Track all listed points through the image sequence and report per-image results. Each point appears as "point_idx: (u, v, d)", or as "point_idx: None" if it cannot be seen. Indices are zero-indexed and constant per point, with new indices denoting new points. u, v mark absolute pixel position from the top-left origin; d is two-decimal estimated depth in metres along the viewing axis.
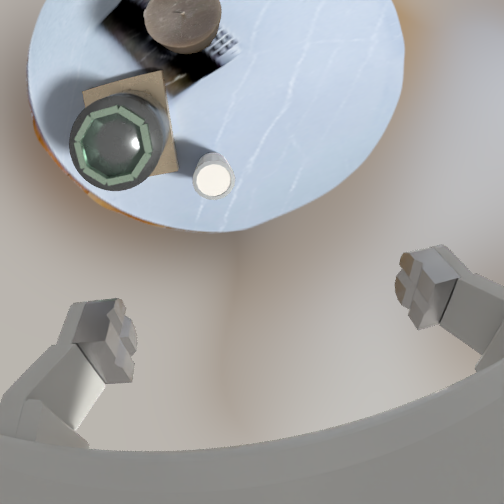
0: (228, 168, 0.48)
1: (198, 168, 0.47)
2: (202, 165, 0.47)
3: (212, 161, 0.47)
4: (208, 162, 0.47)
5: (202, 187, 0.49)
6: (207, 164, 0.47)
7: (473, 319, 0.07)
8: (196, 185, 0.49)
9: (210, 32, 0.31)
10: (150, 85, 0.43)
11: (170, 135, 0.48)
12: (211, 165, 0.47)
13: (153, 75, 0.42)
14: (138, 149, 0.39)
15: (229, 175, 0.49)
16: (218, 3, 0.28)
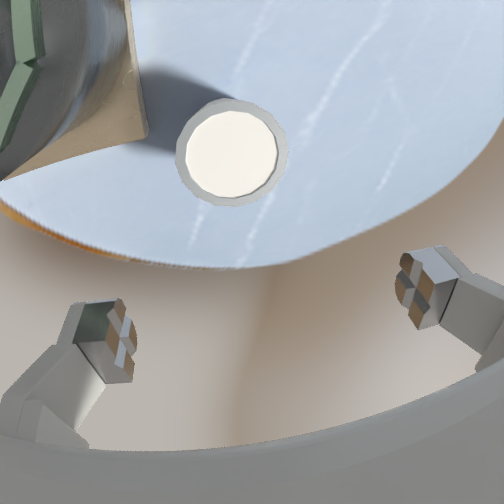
0: (273, 124, 0.17)
1: (191, 122, 0.16)
2: (202, 114, 0.16)
3: (230, 103, 0.16)
4: (219, 105, 0.16)
5: (201, 174, 0.18)
6: (216, 111, 0.16)
7: (473, 319, 0.07)
8: (185, 169, 0.18)
9: None
10: None
11: (128, 55, 0.17)
12: (227, 114, 0.17)
13: None
14: (9, 63, 0.08)
15: (274, 143, 0.18)
16: None
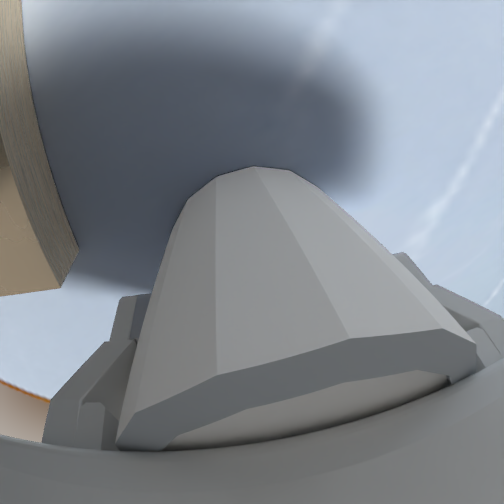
0: (464, 370, 0.04)
1: (153, 419, 0.03)
2: (202, 400, 0.03)
3: (355, 352, 0.03)
4: (294, 368, 0.03)
5: None
6: (276, 390, 0.03)
7: None
8: None
9: None
10: None
11: None
12: (326, 388, 0.03)
13: None
14: None
15: None
16: None
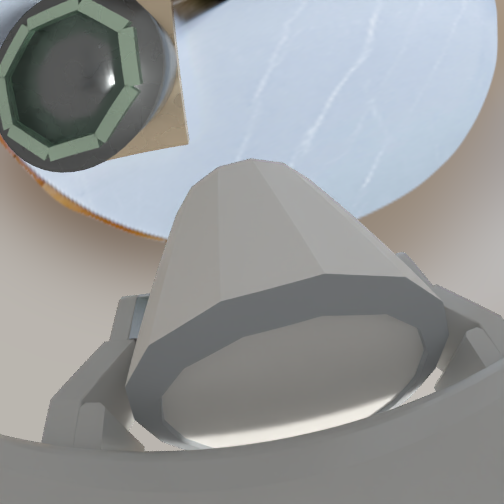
0: (435, 327, 0.05)
1: (164, 350, 0.04)
2: (207, 327, 0.04)
3: (330, 286, 0.04)
4: (281, 297, 0.04)
5: (211, 435, 0.06)
6: (267, 318, 0.04)
7: None
8: (167, 431, 0.06)
9: None
10: None
11: (177, 81, 0.26)
12: (309, 323, 0.04)
13: None
14: (112, 83, 0.17)
15: (416, 364, 0.06)
16: None
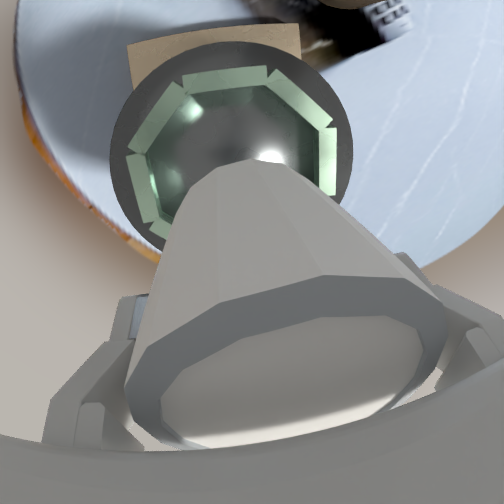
0: (434, 328, 0.05)
1: (162, 352, 0.04)
2: (205, 329, 0.04)
3: (328, 288, 0.04)
4: (280, 299, 0.04)
5: (210, 436, 0.06)
6: (265, 320, 0.04)
7: None
8: (166, 432, 0.06)
9: None
10: (275, 47, 0.21)
11: None
12: (307, 324, 0.04)
13: (282, 30, 0.20)
14: None
15: (415, 365, 0.06)
16: None
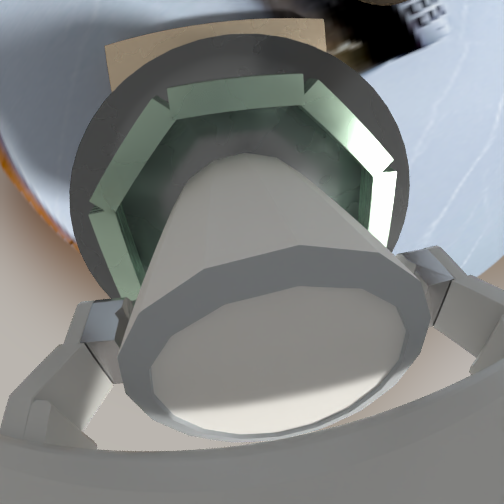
0: (414, 308, 0.05)
1: (153, 318, 0.05)
2: (192, 294, 0.04)
3: (304, 257, 0.04)
4: (259, 267, 0.04)
5: (200, 413, 0.07)
6: (246, 287, 0.04)
7: (467, 321, 0.07)
8: (156, 406, 0.06)
9: None
10: None
11: None
12: (286, 294, 0.05)
13: (304, 26, 0.16)
14: None
15: (399, 346, 0.06)
16: None
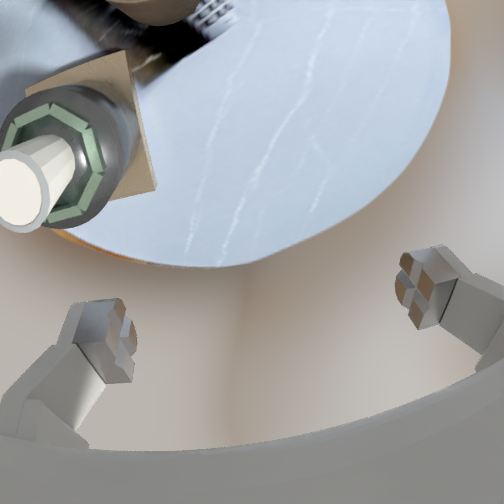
0: (31, 164, 0.17)
1: None
2: None
3: (3, 153, 0.16)
4: None
5: (1, 209, 0.18)
6: None
7: (473, 319, 0.07)
8: None
9: None
10: (110, 72, 0.28)
11: (141, 141, 0.33)
12: (3, 162, 0.16)
13: (114, 57, 0.27)
14: (85, 167, 0.24)
15: (36, 179, 0.18)
16: None
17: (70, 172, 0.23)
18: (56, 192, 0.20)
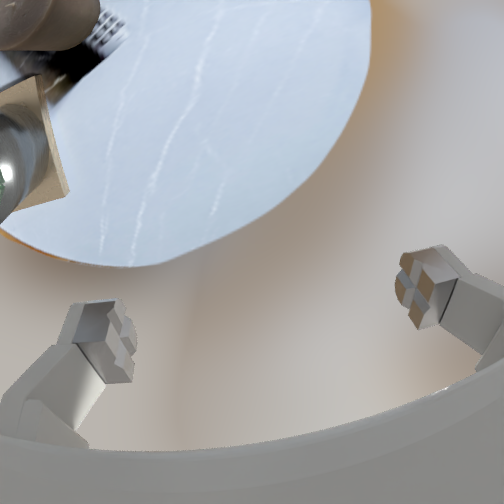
0: None
1: None
2: None
3: None
4: None
5: None
6: None
7: (473, 319, 0.07)
8: None
9: (41, 19, 0.16)
10: (25, 95, 0.28)
11: (50, 154, 0.34)
12: None
13: (27, 83, 0.27)
14: None
15: None
16: None
17: None
18: None
